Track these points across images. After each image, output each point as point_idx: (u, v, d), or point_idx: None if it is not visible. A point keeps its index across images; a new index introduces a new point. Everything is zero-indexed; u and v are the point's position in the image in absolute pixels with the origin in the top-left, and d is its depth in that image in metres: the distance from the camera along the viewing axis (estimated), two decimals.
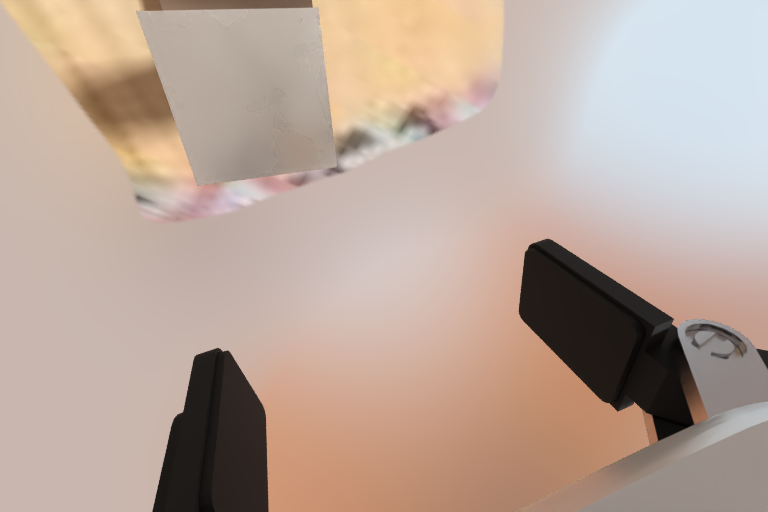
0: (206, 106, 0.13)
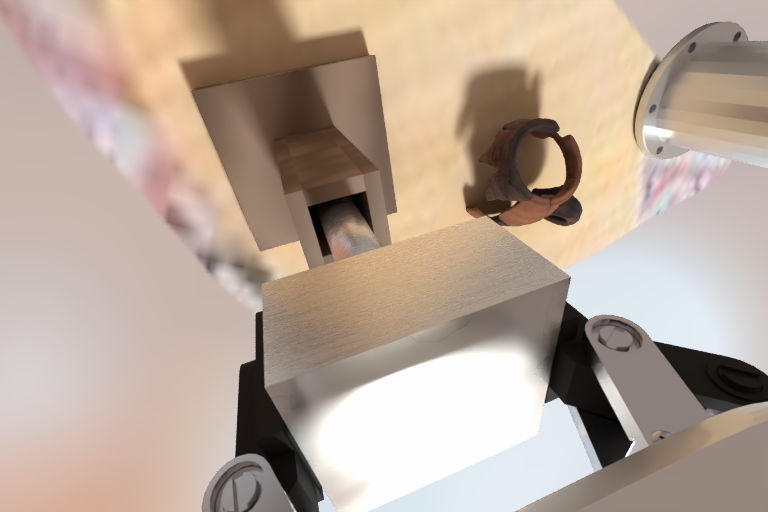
0: (435, 370, 0.07)
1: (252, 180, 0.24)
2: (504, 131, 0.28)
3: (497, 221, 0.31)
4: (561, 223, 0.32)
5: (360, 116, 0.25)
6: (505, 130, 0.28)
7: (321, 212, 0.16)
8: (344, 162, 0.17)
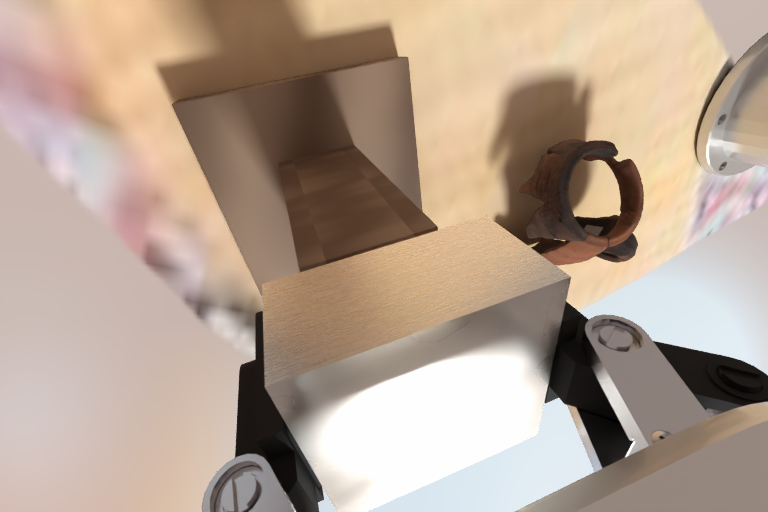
0: (435, 370, 0.07)
1: (251, 213, 0.20)
2: (550, 156, 0.23)
3: None
4: (610, 258, 0.28)
5: (386, 133, 0.20)
6: (551, 154, 0.23)
7: None
8: (380, 208, 0.12)
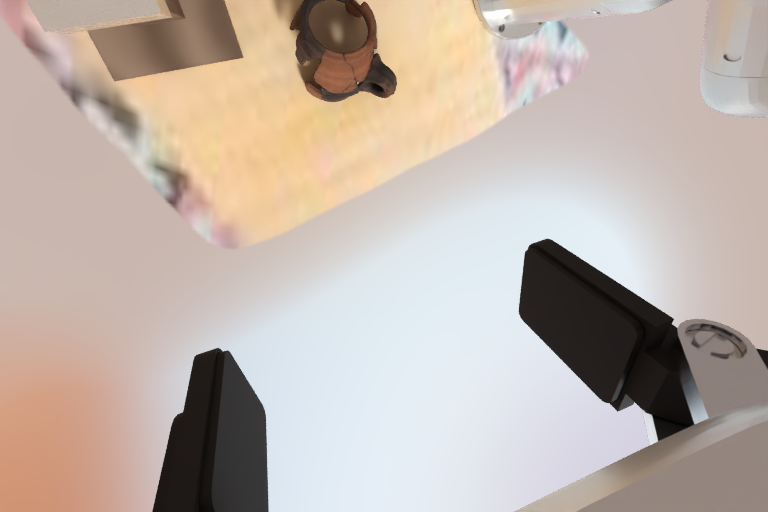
0: None
1: None
2: None
3: (321, 89, 0.36)
4: (384, 94, 0.37)
5: None
6: None
7: None
8: None
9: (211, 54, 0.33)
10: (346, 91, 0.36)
